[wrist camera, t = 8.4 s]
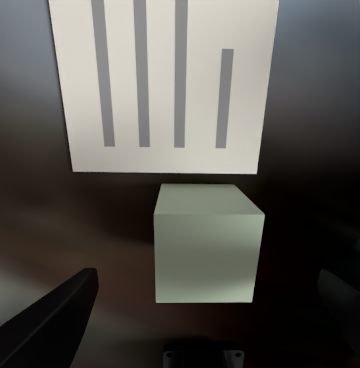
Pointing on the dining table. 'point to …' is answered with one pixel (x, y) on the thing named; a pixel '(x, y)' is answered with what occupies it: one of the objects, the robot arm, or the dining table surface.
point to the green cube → (205, 243)
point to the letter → (164, 83)
